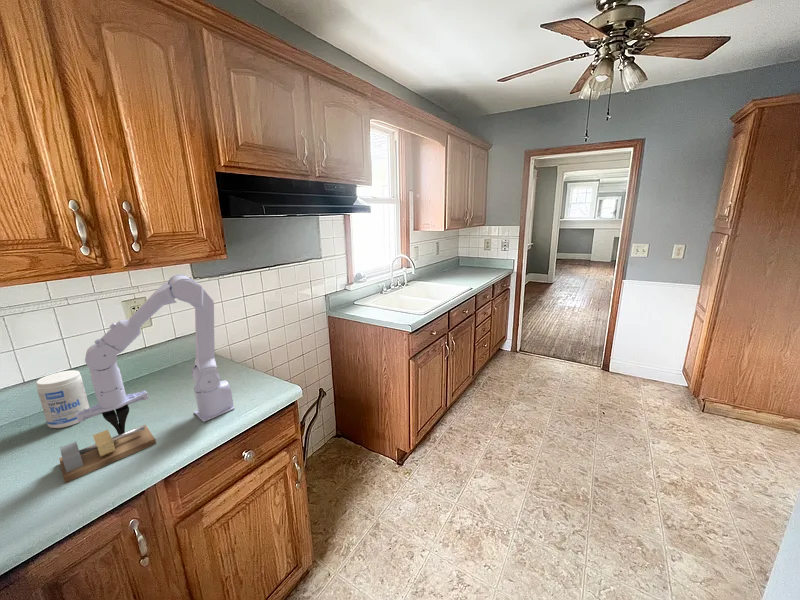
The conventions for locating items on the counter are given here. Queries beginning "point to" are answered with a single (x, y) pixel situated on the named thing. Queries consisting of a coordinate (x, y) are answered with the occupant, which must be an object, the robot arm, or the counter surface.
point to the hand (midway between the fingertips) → (121, 432)
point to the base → (90, 460)
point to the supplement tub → (62, 398)
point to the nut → (104, 443)
